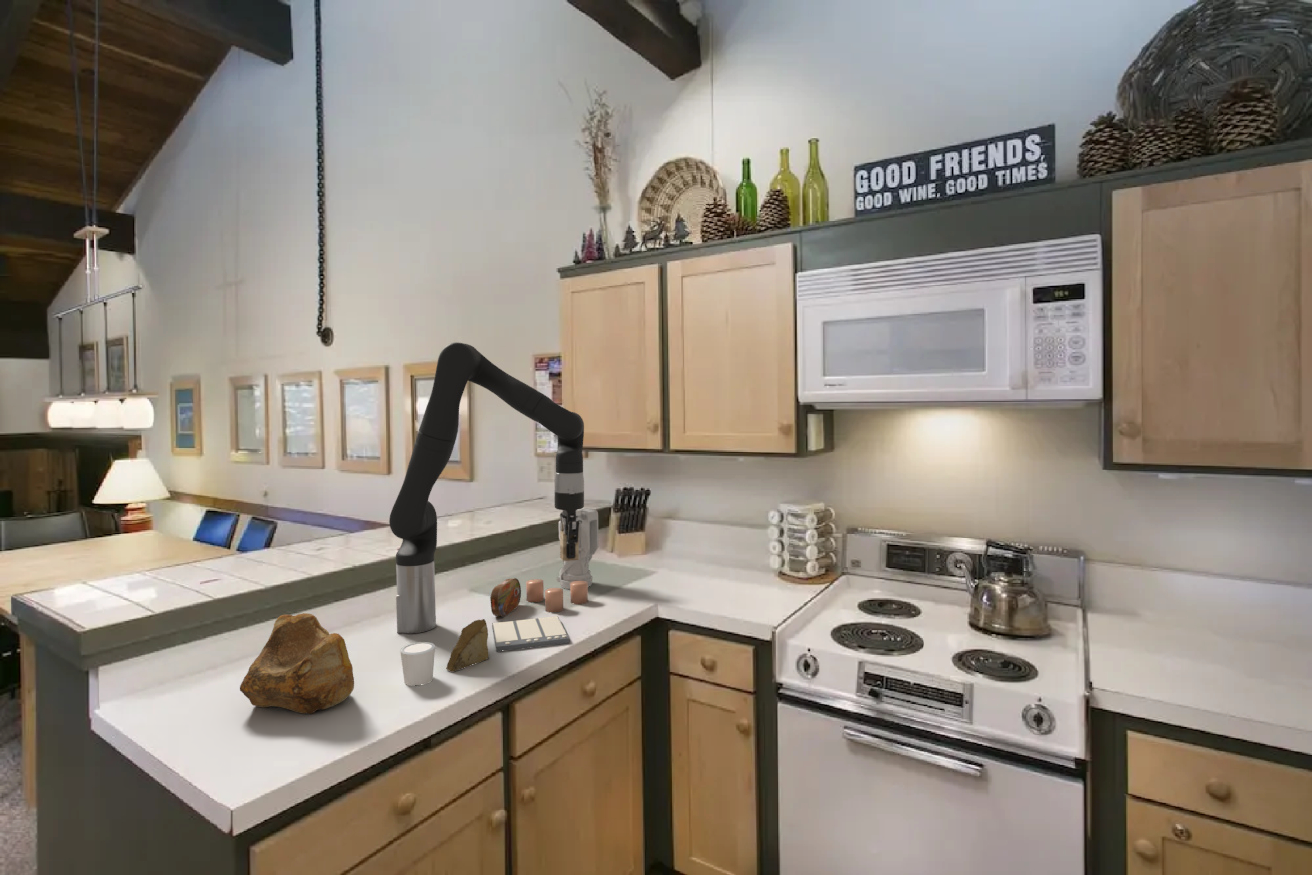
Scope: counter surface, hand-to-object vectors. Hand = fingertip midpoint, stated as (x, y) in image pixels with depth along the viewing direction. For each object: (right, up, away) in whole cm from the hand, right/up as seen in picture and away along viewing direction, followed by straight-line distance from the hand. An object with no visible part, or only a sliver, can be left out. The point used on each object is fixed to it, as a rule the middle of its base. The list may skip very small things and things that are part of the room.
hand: (569, 555), depth 164 cm
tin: (-19, -18, +14) cm, 30 cm away
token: (0, -1, 0) cm, 1 cm away
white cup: (-27, -21, -31) cm, 46 cm away
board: (-9, -19, -5) cm, 22 cm away
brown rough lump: (-49, -21, -40) cm, 66 cm away
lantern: (-2, -17, +38) cm, 42 cm away
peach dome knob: (-6, -18, +15) cm, 24 cm away
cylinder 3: (0, -18, +22) cm, 28 cm away
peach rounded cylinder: (-13, -18, +24) cm, 33 cm away
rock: (-20, -20, -22) cm, 36 cm away
